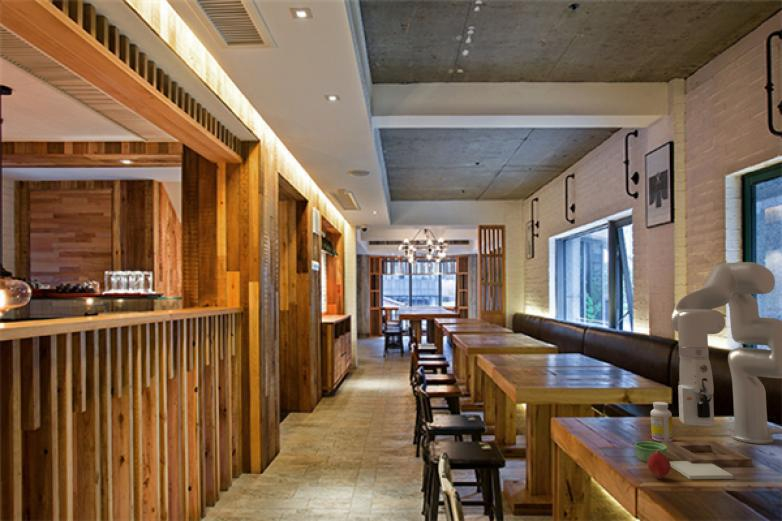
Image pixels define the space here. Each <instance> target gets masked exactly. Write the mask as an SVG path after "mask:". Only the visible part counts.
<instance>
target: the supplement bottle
mask: <svg viewBox="0 0 782 521" xmlns="http://www.w3.org/2000/svg"><path fill="white" fill-rule="evenodd" d="M652 405H653V409H652V410H651V411H650V427H651V429H650V430H651V438H652V440H653V441H654V442H657V443H661V442H674V441H673V440H674V432H673V431H674V430H673V416H672V414H673V413H672V412H671V411H670V410H669V409H668V408H669V404H668V403H667V402H665V401H654V402H652Z"/></svg>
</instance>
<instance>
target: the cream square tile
mask: <svg viewBox="0 0 782 521" xmlns="http://www.w3.org/2000/svg"><path fill="white" fill-rule="evenodd" d="M669 462H670V465H671V469H673V470H676V472H678V473H679V474H681V475H683V476H684V477H685V478H688V479H689V480H731V479H732V480H733V479H734V475H733V474H731V473H730V472H728V471H726V470H724V469H722V468H721V467H720V466H716V465H714V464H712V463H690V462H688V461H681V460H677V461H676V460H672V461H671V460H669Z"/></svg>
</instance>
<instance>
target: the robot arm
mask: <svg viewBox="0 0 782 521" xmlns="http://www.w3.org/2000/svg"><path fill="white" fill-rule="evenodd" d="M775 286H776V280H775V276H774V273H773V272H772V271H771V270H770V269H769V268H767V267H766V266H763V265H762V264H760V263H756V262H752V261H750V262H749V261H747V262H746V261H743V262H724V263H723V262H722V263H719V264H716V265H714V267H713V268H712V269H711V271H710V272H709V274H708V276H707V278H706V280H705V282H704V284H703V286H702V287H701V288H698V289H695V290H694V291H692V292H690V293H688V294H686V295H684V296H682V297H681V298H680V299H678V301H677V303H676V305H675V307H674V308H673V310H672V312H671V315H670V325H671V328H672V329H673V330H674V331H675V332H677V334H678V335H677V336H678V337H677V338H678V356H679V370H678V373H679V374H678V375H679V380H678V385H683V386H686V387H689V388H691V389H692V391H693V392H694V393H696V395H697V398H698V402H699V403H697V411H698V417H699V418H709V417H710V405H709V404H710V403H711V402H710V400H711V398H712V396H713V397H714V377H713V372H712V365H711V361H710V359H709V358H710V357H709V356H710V355H709V341H708V338H709V337H708V335H717V334H720V333H721V332H723V330H724V329H725V326H726V318H725V316H724V314H722V312H721V311H719V310H716V309H717V308H721V307H723V306H726V305H728V308H729V322H730V332H731V338H732V340H733V341H734V342H735V343H737V344H742V345H752V346H753V345H754V346H767V347H768V348H769V349H767V348H758V347H757V348H756V347H755V348H754V347H736V348H733V349H731V350H730V351H729V353H728V355H727V362H728V366H729V367H728V368H729V370H730V376H731V382H732V383H731V384H732V398H733V401H732V402H733V416H734V419H733V420H734V430H733V431H730V432H729V436H730V438H731V439H733V440H736V441H740V442H745V443H749V444H757V445H760V444H761V445H762V444H763V445H765V444H771V443H773V442H775V439H774V437H773V435H782V428H781V427H780V428H779V427H778V428H773V427H770V426H768V412H767V394H766V393H767V392H766V389H765V386H764V384H763V383H762V381H760V378H758V377H763V378H773V379H782V320H781V319H779V318H775V317H761V316H760V314H759V313H760V312H759V304H758V303H759V302H758V301H757V299H756V298H755V297H754V296H753V295H767V294H770V293H771V292H772V291H773V290H774V289H775ZM703 390H705V392H700V391H703ZM701 395H704V396H703V397H702V398H701Z"/></svg>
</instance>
